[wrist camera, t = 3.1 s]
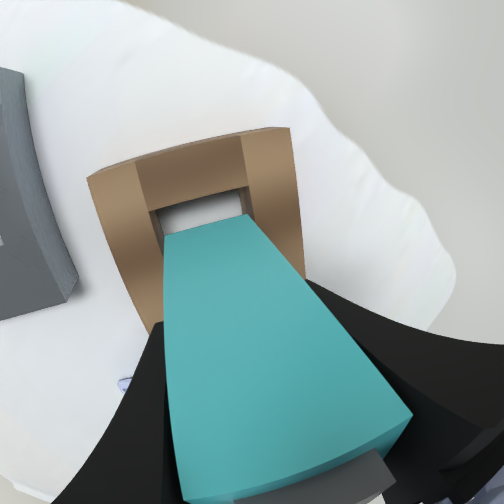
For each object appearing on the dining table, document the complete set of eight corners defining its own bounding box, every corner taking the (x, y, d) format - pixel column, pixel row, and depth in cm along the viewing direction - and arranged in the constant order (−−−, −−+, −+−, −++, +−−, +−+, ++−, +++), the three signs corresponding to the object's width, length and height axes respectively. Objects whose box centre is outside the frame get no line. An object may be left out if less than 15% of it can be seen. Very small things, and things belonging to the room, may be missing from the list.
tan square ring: (288, 271, 20) (306, 294, 17) (152, 310, 18) (151, 339, 16) (269, 127, 15) (289, 127, 13) (101, 168, 14) (86, 177, 11)
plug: (259, 283, 14) (384, 494, 4) (187, 304, 13) (244, 546, 4) (247, 214, 12) (439, 449, 2) (164, 235, 11) (194, 545, 2)
